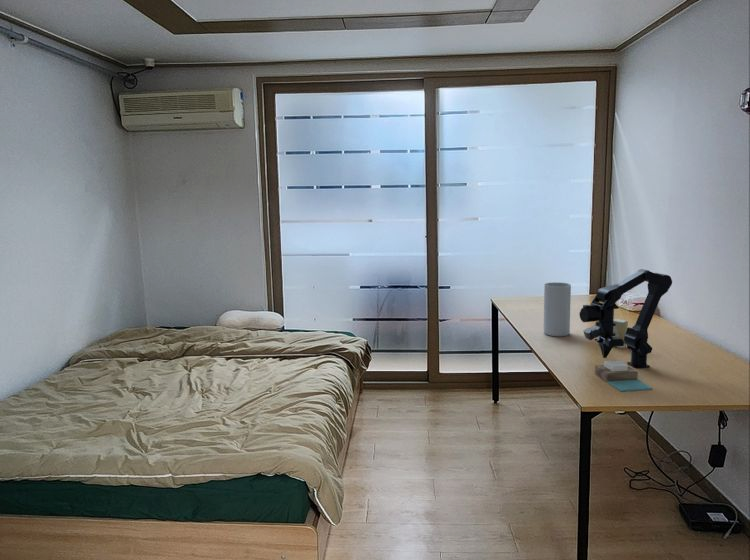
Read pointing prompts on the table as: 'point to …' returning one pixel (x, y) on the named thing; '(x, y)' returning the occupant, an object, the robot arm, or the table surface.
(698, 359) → the table surface
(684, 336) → the table surface
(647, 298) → the robot arm
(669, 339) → the table surface
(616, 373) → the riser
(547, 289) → the cylinder vase
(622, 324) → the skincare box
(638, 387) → the mat
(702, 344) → the table surface
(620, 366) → the tile
